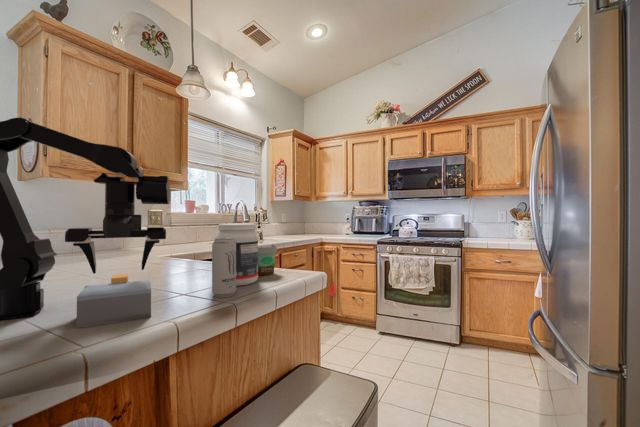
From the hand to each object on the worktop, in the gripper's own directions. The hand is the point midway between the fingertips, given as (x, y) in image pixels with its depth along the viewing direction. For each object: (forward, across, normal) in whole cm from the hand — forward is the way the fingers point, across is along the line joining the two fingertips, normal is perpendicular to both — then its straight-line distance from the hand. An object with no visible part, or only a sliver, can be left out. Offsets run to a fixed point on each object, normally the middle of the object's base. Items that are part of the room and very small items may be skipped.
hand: (119, 271), depth 69 cm
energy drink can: (+8, +23, -2) cm, 25 cm away
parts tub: (+8, 0, -7) cm, 11 cm away
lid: (+4, 0, -5) cm, 7 cm away
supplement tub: (+8, +30, +11) cm, 33 cm away
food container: (+8, +42, +18) cm, 46 cm away
